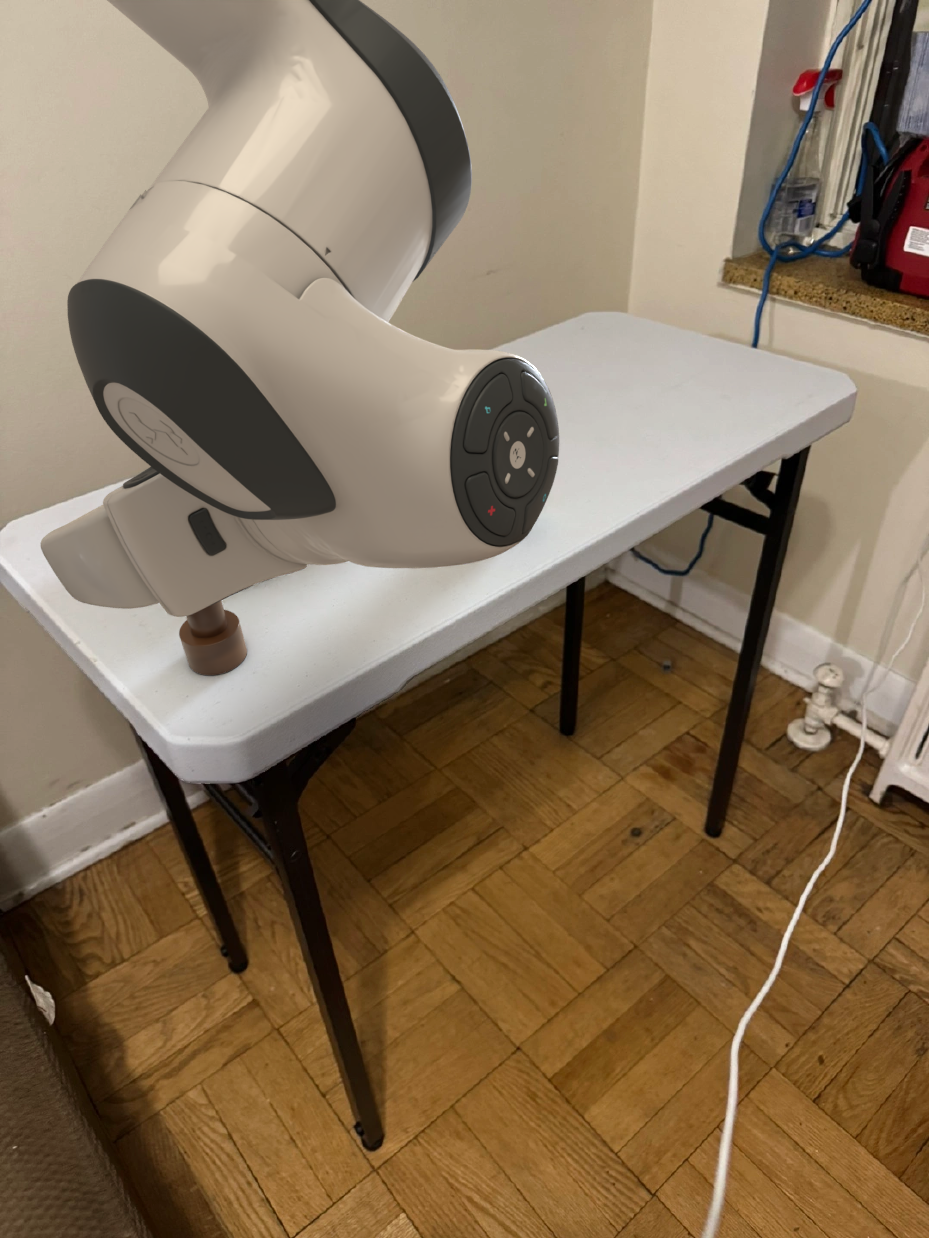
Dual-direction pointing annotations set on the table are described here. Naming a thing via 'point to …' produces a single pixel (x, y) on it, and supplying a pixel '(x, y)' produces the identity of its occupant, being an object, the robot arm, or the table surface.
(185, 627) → the pestle
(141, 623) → the table surface
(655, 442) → the table surface
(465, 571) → the table surface
